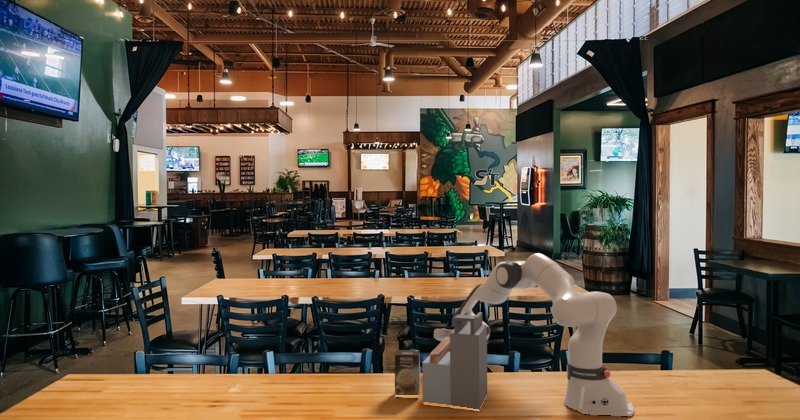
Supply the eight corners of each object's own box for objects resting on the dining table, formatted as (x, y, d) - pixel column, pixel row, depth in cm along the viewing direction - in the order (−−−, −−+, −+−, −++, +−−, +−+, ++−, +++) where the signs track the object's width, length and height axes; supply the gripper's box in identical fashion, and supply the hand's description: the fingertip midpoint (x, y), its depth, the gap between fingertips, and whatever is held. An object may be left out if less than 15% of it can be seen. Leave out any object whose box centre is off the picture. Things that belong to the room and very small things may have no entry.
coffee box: (394, 398, 188) (393, 354, 188) (395, 392, 194) (395, 349, 194) (419, 399, 187) (418, 355, 187) (420, 392, 193) (419, 350, 193)
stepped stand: (487, 395, 190) (486, 309, 190) (479, 411, 175) (478, 319, 175) (434, 389, 197) (433, 307, 196) (422, 405, 181) (421, 315, 181)
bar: (453, 345, 203) (453, 337, 203) (438, 362, 181) (438, 354, 181) (446, 344, 204) (446, 337, 204) (430, 362, 182) (429, 353, 182)
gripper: (438, 331, 228) (431, 321, 216) (484, 334, 221) (479, 324, 210) (436, 345, 225) (429, 336, 213) (483, 349, 218) (478, 340, 207)
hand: (454, 330), depth 211 cm, fingers open, 8 cm apart
